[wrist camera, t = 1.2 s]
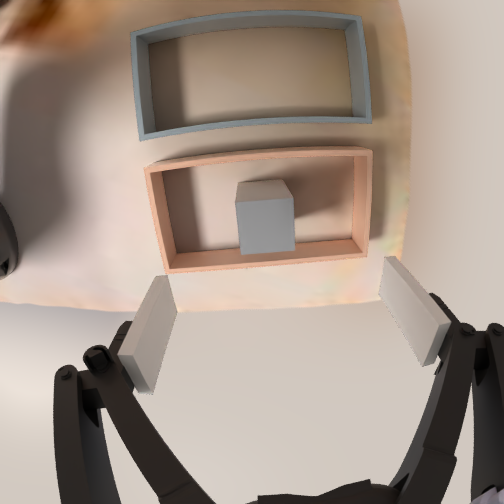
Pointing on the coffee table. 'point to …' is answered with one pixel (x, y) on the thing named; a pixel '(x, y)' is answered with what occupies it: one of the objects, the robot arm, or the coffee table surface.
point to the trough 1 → (240, 21)
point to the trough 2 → (301, 254)
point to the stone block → (265, 217)
